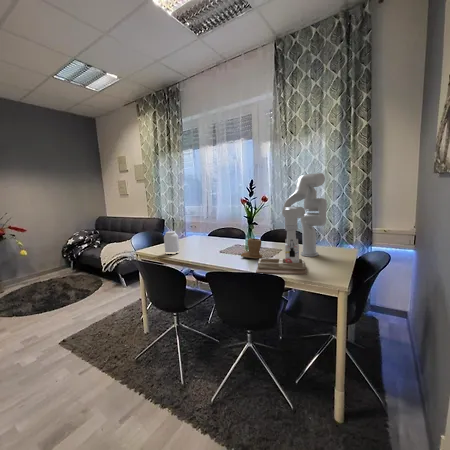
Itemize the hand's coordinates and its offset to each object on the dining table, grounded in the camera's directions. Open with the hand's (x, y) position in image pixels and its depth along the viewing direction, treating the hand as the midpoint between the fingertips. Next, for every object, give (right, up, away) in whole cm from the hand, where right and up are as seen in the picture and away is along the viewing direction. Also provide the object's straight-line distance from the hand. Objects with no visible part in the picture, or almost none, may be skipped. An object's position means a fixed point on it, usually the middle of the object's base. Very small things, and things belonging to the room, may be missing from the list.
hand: (292, 255), depth 153 cm
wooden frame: (-6, -8, +3) cm, 11 cm away
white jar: (-90, -6, +61) cm, 109 cm away
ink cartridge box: (0, -4, +1) cm, 5 cm away
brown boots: (-22, -6, +31) cm, 38 cm away
